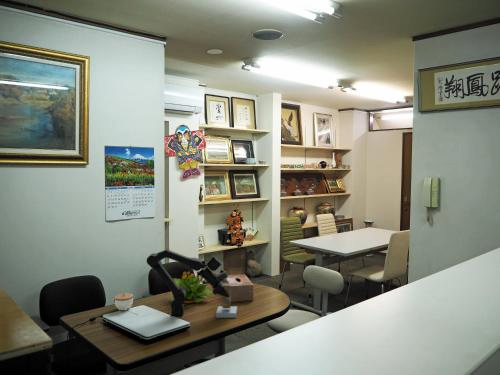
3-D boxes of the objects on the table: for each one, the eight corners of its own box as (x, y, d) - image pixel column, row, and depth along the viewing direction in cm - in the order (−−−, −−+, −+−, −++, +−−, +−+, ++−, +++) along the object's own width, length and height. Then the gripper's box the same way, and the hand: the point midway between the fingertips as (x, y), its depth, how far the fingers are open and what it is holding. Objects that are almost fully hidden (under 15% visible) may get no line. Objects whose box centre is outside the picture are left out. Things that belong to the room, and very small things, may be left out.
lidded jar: (127, 312, 234) (127, 296, 234) (111, 311, 236) (110, 295, 236) (136, 306, 245) (136, 291, 244) (120, 305, 247) (120, 290, 247)
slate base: (216, 317, 226) (216, 313, 226) (218, 310, 237) (218, 306, 237) (235, 317, 225) (235, 313, 225) (237, 310, 236) (237, 306, 236)
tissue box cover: (224, 290, 278) (224, 275, 277) (245, 288, 281) (244, 274, 280) (230, 302, 253) (230, 286, 252) (253, 300, 256) (253, 284, 255)
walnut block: (222, 308, 229) (222, 285, 228) (222, 305, 233) (222, 283, 232) (230, 308, 229) (230, 285, 228) (230, 305, 233) (230, 283, 233)
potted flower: (179, 310, 238) (179, 280, 237) (160, 300, 256) (160, 272, 256) (214, 301, 254) (214, 273, 253) (194, 292, 272) (194, 266, 271)
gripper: (218, 270, 220) (239, 290, 221) (220, 262, 239) (238, 281, 240) (204, 285, 221) (224, 304, 221) (206, 276, 239) (225, 294, 240)
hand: (229, 295), depth 231 cm, fingers closed on walnut block, 4 cm apart
